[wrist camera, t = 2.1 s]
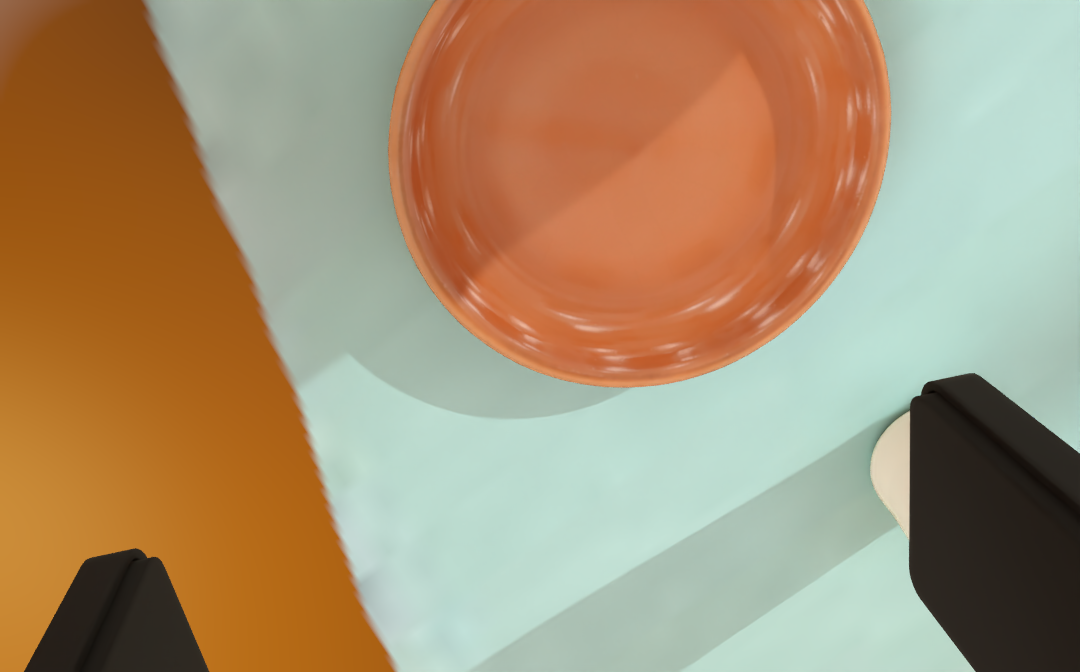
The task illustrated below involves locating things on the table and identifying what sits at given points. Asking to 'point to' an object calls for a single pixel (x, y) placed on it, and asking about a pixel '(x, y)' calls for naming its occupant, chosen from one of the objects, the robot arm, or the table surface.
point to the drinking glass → (894, 470)
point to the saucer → (636, 173)
